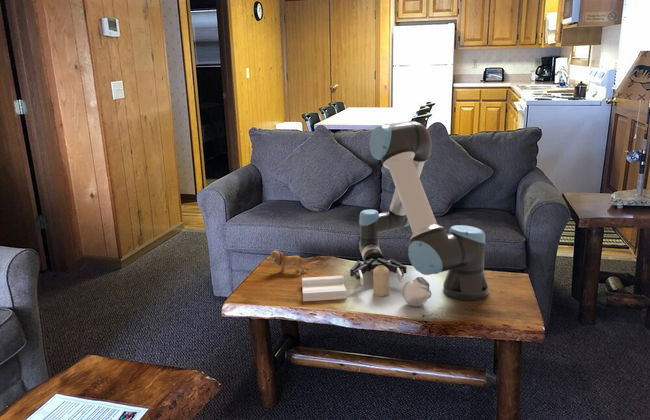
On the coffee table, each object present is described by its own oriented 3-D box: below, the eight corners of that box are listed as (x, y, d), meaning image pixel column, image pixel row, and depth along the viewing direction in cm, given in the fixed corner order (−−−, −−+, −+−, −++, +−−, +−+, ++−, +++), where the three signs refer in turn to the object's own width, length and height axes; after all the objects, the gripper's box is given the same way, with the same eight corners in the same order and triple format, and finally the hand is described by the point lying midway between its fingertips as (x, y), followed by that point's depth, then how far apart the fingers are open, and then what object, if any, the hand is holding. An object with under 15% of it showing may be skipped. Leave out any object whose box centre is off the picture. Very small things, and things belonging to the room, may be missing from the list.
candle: (388, 296, 185) (388, 269, 182) (372, 296, 186) (372, 269, 183) (389, 290, 190) (389, 263, 188) (374, 289, 191) (373, 263, 189)
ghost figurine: (423, 314, 172) (423, 285, 169) (397, 306, 177) (397, 279, 175) (435, 303, 179) (436, 275, 176) (410, 296, 184) (410, 269, 182)
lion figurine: (270, 274, 208) (269, 253, 206) (272, 269, 213) (270, 248, 211) (308, 273, 208) (307, 252, 205) (309, 268, 213) (308, 247, 210)
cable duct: (343, 282, 198) (342, 275, 197) (346, 298, 185) (346, 290, 184) (302, 285, 197) (302, 277, 196) (303, 301, 184) (302, 293, 184)
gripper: (405, 264, 206) (417, 287, 186) (340, 268, 205) (346, 292, 185) (405, 246, 204) (417, 267, 184) (340, 250, 203) (345, 271, 183)
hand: (381, 279), depth 184 cm, fingers open, 13 cm apart
